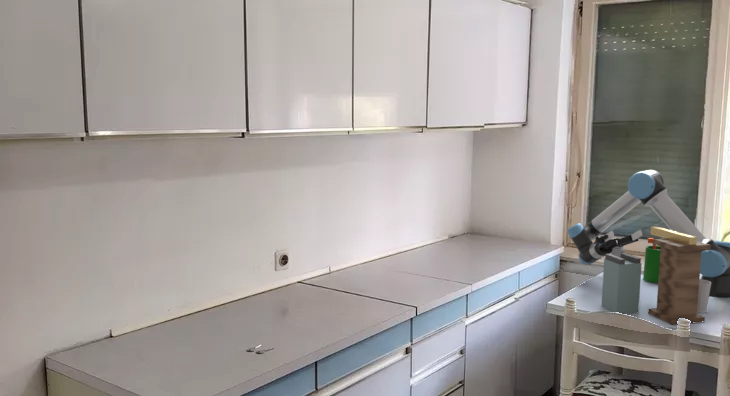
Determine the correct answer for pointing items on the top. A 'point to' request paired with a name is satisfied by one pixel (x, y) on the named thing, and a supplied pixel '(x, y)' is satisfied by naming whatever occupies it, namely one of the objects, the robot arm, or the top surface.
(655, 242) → the walnut stand
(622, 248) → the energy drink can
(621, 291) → the block
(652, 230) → the brass bar
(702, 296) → the cup
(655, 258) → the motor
